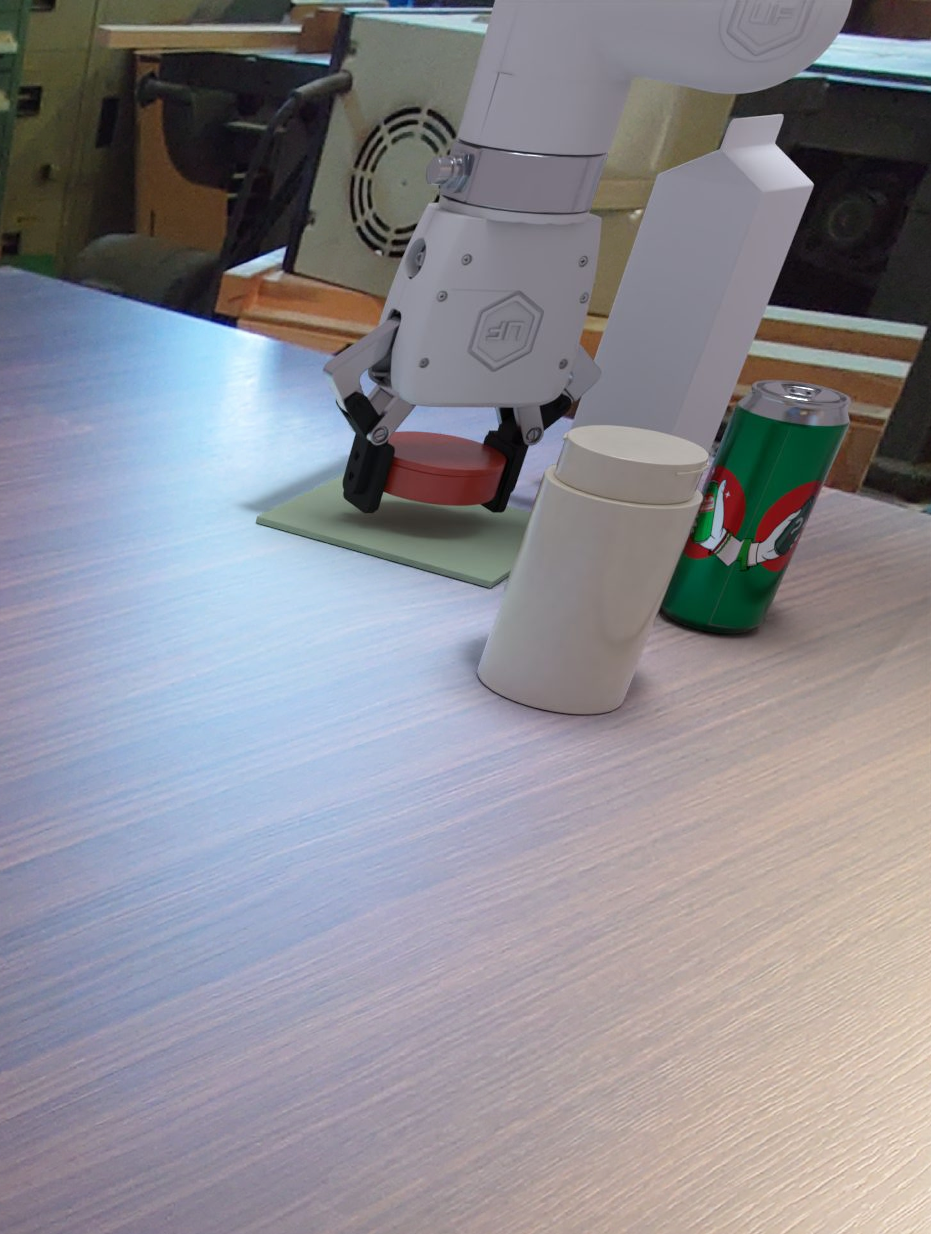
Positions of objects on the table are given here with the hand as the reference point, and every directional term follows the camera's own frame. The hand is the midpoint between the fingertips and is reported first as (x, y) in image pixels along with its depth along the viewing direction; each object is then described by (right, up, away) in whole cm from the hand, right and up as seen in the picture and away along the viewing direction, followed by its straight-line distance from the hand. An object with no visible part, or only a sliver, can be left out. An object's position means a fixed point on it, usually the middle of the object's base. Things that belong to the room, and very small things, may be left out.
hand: (422, 503), depth 100 cm
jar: (-2, -14, -18) cm, 23 cm away
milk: (+15, +1, +6) cm, 16 cm away
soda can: (+11, -9, -10) cm, 17 cm away
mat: (0, -1, +1) cm, 1 cm away
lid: (0, +2, -2) cm, 3 cm away
